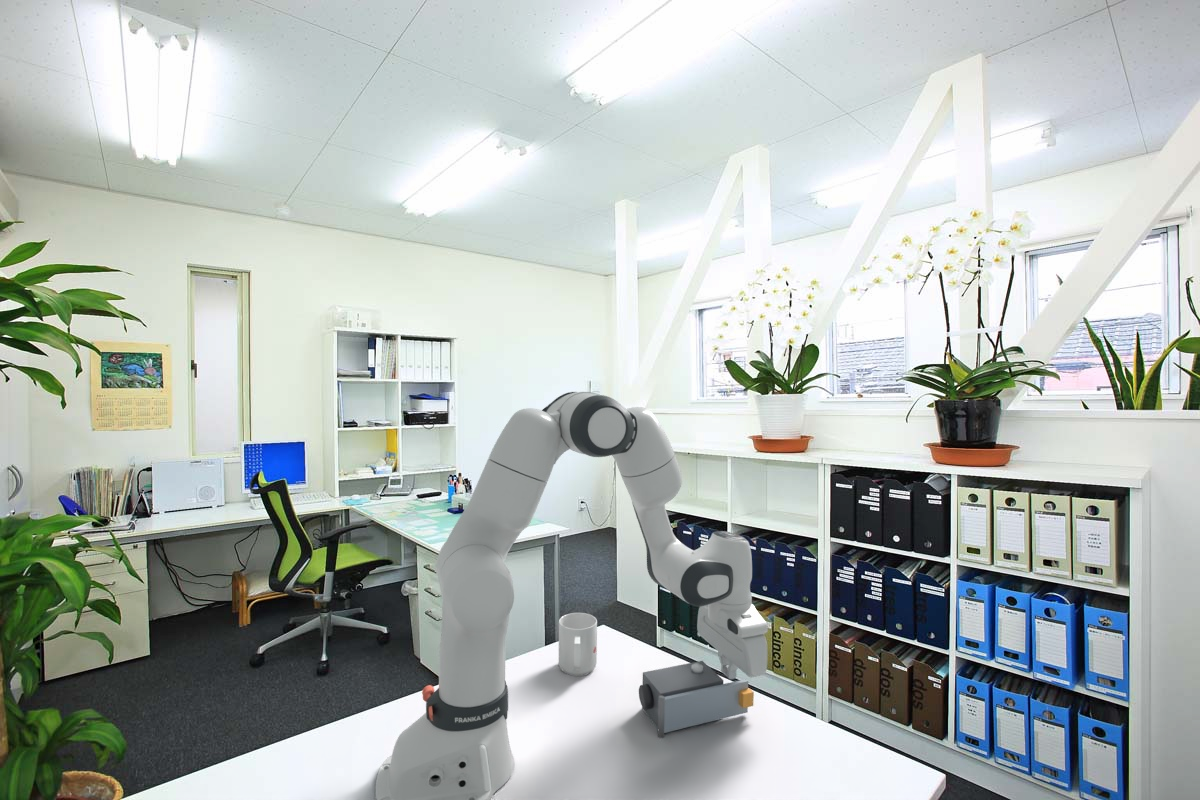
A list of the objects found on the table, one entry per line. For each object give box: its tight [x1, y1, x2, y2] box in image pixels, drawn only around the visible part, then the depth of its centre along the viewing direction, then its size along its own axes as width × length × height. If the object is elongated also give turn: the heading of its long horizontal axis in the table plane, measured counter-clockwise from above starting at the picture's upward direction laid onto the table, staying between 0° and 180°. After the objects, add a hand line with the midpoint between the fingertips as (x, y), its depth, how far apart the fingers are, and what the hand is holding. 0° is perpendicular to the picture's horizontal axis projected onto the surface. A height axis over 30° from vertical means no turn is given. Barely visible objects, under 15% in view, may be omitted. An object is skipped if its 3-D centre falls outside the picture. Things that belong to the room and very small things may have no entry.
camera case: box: [638, 660, 724, 730], centre depth 110 cm, size 15×8×8 cm, turn 111°
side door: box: [657, 678, 755, 739], centre depth 106 cm, size 20×2×7 cm, turn 111°
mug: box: [558, 612, 598, 677], centre depth 126 cm, size 12×9×11 cm
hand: (728, 675), depth 114 cm, fingers closed
